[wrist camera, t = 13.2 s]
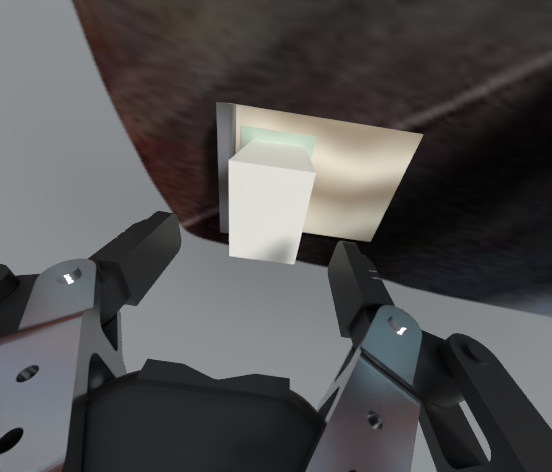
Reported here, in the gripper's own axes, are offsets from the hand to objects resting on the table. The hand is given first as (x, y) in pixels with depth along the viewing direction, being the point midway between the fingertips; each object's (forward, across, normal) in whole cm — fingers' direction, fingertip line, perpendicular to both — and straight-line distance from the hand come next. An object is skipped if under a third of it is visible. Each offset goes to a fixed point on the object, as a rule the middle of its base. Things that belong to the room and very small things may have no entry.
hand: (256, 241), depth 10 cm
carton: (+12, 0, +1) cm, 12 cm away
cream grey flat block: (+14, -4, +1) cm, 15 cm away
